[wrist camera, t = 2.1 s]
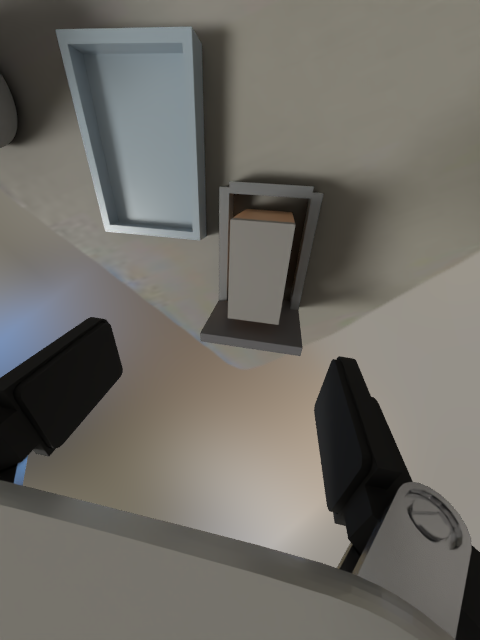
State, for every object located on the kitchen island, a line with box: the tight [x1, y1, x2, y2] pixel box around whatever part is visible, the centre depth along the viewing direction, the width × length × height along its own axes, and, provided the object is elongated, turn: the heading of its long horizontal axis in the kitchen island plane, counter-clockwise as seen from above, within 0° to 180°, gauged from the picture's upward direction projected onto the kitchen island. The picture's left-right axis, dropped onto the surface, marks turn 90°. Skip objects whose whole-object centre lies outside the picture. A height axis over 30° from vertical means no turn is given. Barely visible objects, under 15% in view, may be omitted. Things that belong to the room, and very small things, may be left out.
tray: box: [55, 27, 207, 240], centre depth 23 cm, size 12×16×2 cm
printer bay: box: [200, 181, 324, 356], centre depth 23 cm, size 10×14×10 cm
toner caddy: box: [228, 209, 295, 325], centre depth 23 cm, size 5×9×9 cm, turn 177°
